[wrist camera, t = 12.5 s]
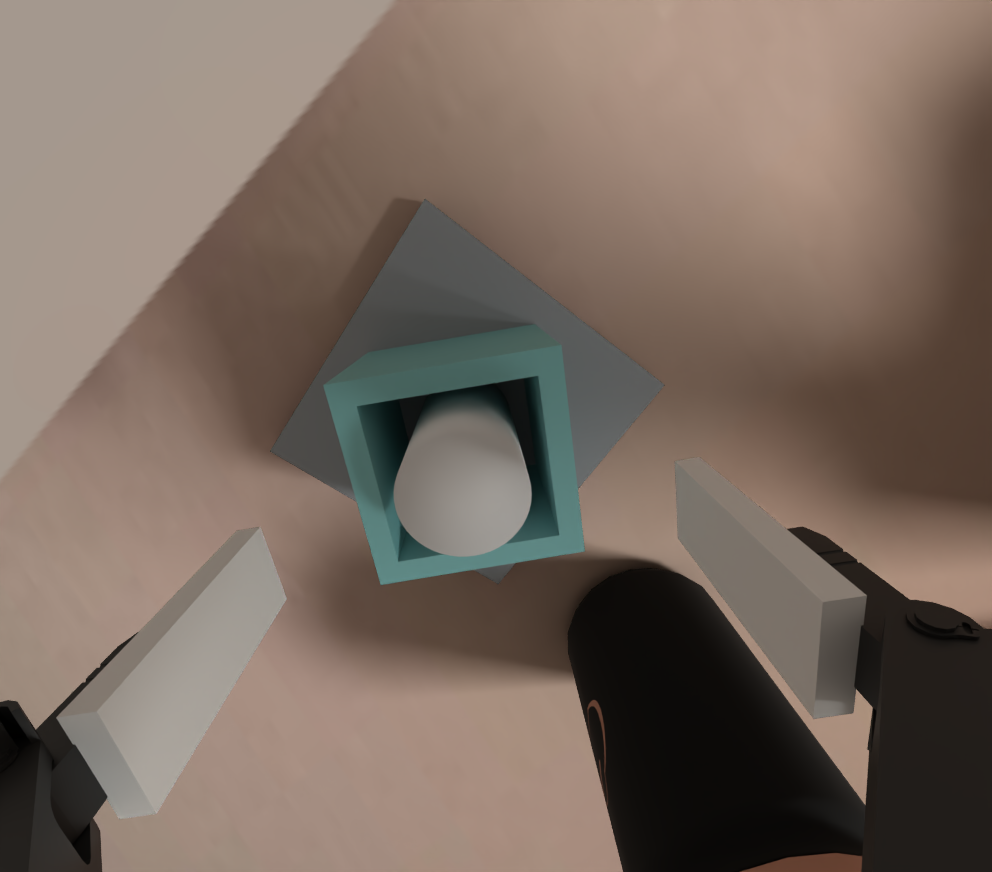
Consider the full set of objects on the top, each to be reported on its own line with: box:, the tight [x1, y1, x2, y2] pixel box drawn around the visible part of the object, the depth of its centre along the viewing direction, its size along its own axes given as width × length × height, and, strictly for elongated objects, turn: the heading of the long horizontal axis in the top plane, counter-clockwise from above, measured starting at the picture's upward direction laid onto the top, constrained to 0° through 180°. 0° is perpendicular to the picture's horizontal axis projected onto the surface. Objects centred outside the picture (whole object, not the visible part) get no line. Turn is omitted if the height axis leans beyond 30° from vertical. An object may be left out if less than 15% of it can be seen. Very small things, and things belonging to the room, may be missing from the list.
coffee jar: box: [568, 568, 866, 872], centre depth 25 cm, size 11×11×18 cm
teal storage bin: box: [323, 324, 585, 585], centre depth 23 cm, size 9×9×8 cm
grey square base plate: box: [270, 199, 664, 584], centre depth 22 cm, size 16×16×12 cm
